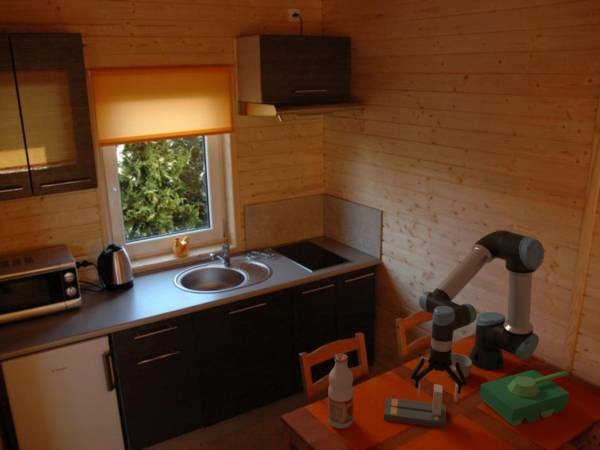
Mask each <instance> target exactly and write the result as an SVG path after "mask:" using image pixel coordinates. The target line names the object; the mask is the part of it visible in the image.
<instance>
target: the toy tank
mask: <svg viewBox="0 0 600 450" xmlns="http://www.w3.org/2000/svg"><path fill="white" fill-rule="evenodd" d="M569 373H570V372H569V371H568V370H562V371H558V372H555V373H551V374H548V375H545V376H544V375H543V374H541V373H540V372H539V371H537V370H536V369H531V370H527V371H523V372H520V373H516V374H512V375H509V376H505V377H502V378H498V379H495V380H491V381H487V382H484V383H481V384H480V390H479V396H480V397H481V398H480V399H481V401H482V402H483V403H485V404H486V405H487V406H489V407H490V408H491V409H492V410H493V411H495V413H497V415H499V416H500V417H502V418H503V419H504V420H505V421H507V423H509V424H510V425H511V426H513V427H516V426H520V424H521V423H522V422H523V420H525V421H526V422H527V423H533V422H536V421H537V420H538V419H539V418H540V416H541V417H542V418H544V419H545V418H548V417H551V416H552V415H553V414H554V413H555V414H560V413H562V412H563V410H564V409H565V408H566V406H567V405H568V401H569V400H568V399H569V395H570V393H569V392H568V391H566V390H565V389H563V387H561V386H559V385H558V384H556V383H555V382H554V381H552V380H556V379H559V378H563V377H565V376H568V375H569Z"/></svg>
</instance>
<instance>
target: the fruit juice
mask: <svg viewBox="0 0 600 450" xmlns="http://www.w3.org/2000/svg"><path fill="white" fill-rule="evenodd" d="M334 362H335V363H334V367H333V368H332V369H331V371H330V372H329V374H328V382H329V386H328V389H327V391H328V393H327V395H328V396H327V404H328V405H327V407H328V409H327V413H328V414H327V419H328V420H327V421H328V423H329V426H331V427H333V428H335V429H340V430H341V429H343V430H344V429H347V428H350V426H352V424H353V421H354V387H353V382H354V374H353V372H352V371H351V370H350V369H349V366H348V362H349V357H348V355H347V354H345V353H337V354H335V355H334Z"/></svg>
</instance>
